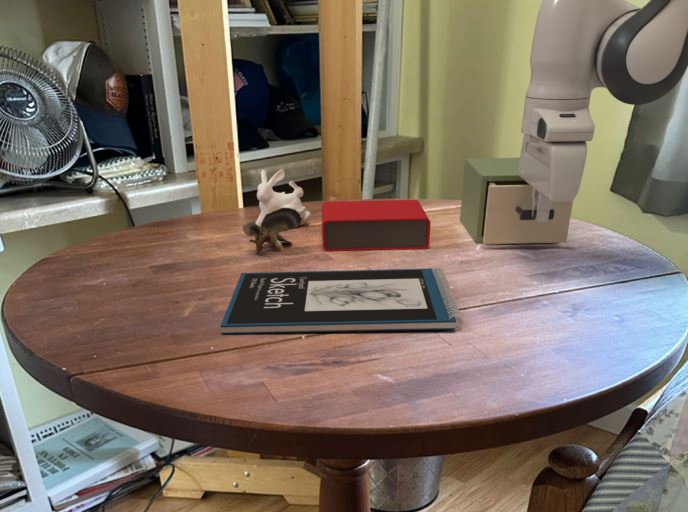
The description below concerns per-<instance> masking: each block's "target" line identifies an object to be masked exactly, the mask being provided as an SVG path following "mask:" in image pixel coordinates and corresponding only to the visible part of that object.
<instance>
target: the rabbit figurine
mask: <svg viewBox="0 0 688 512" xmlns="http://www.w3.org/2000/svg"><path fill="white" fill-rule="evenodd" d="M260 171H261V172H260V178H261V183H259V184H258V185H257V192H256V198H257V200H258V201H259V203H258V207H259V209H260V213H259V215H258V218H257V219H256V221H255V222H254V223H255V224H257V225H258V226H260V227H261V225H262V224H261V223H262V221H263V219H264V217H265V215H266V214H268V213H272V212H273V211H276V210H279V209H281V208H284V207H285V208H290V209H295V210H296V211H297V212H298V213H299V214H300V217H301V218H302V220H301V223H300V224H299V225H300V226H303V225H304V224H306V223H308V222H309V221H310V220H311V216H312V213H311V212H310V211H309V210H307V208H306V206H305V205H303V204H302V200H301V198H302V197H303V196H304V190H303V188H302V187H301V186H298V185H297V184H296V183H295V182H294V181H293V180H290V181H289V182H288V185H289V186H290V187H292V188H293V191H292V192H291V193H286V191H282V192H277V191H274V190H273V186H275V185H276V184H277V183H279V182H280V181H282V180H283V179H284V178H285V175H286V174H285V170H284V169H283V168H281V169H279V170H278V171H277V172H275V173H274V174H273V175H272V176H271V178H270V179H269V180H268V177H267V174H268V172H267V170H266V169H262V170H260Z"/></svg>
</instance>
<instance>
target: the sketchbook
mask: <svg viewBox="0 0 688 512" xmlns="http://www.w3.org/2000/svg"><path fill="white" fill-rule="evenodd" d="M463 324H464V319H463V317H462V314H461V312H460V309H459V307H458V305H457V302H456V299H455V297H454V294H453V292H452V290H451V287H450V285H449V281H448V280H447V277H446V274H445V273H444V270H443V269H442V268H441V267H439V266H435V267H433V268H431V267H430V268H396V269H395V268H394V269H393V268H391V269H389V268H388V269H357V270H356V269H352V270H351V269H349V270H347V269H346V270H313V271H312V270H309V271H308V270H306V271H274V272H273V271H268V272H267V271H266V272H241V273H240V276H239V279H238V281H237V283H236V286H235V288H234V290H233V293H232V296H231V298H230V301H229V304H228V306H227V308H226V311H225V313H224V316H223V318H222V320H221V323H220V333H221V335H243V334H244V335H245V334H289V333H290V334H292V333H293V334H295V333H336V332H337V333H339V332H383V331H385V332H387V331H433V330H435V331H437V330H441V331H443V330H454V331H455V330H459V329H460V328H461V327H463Z"/></svg>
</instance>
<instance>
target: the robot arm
mask: <svg viewBox="0 0 688 512" xmlns="http://www.w3.org/2000/svg"><path fill="white" fill-rule="evenodd" d="M532 36H533V37H532V43H531V49H530V57H529V65H530V79H529V84H528V87H527V89H526V92H525V98H524V105H523V114H522V122H521V130H520V131H521V133H522V135H523V138H522V144H521V149H520V155H519V158H520V161H519V176H520V177H521V178H522V179H523V180H525V181H526V182H527V183H528V184H530V185H531V186H532V187H533V191H532V198H533V212H532V217H533V218H534V219H535V220H536V221H537V222H547V221H548V219H549V212H550V209H551V207H552V205H553V202H567V201H573V202H574V200H575V199H576V197H577V195H578V194H579V190H580V188H581V183H582V179H583V175H584V171H585V166H586V160H587V156H588V144H587V142H592V140H593V139H594V135H595V127H596V125H595V122H594V120H593V119H592V117H591V114H590V103H591V96H592V92H593V90H595V89H597V88H604V89H606V90H607V91H608V92H609V94H610V95H611V96H612V97H613V98H615V99H616V100H617V101H619V102H621V103H624V104H626V105H630V106H631V105H632V106H642V105H647V104H650V103H653V102H655V101H658V100H659V99H661V98H663V97H664V96H666V95H667V94H669V92H671V91H673V89H674V88H675V87H676V86H677V85H678V84H679V82H680V81H681V80H682V79H683V76H684V75H685V73H686V72H687V69H688V0H649V1H648V2H647V3H646V4H645V5H643V6H642V7H639V6H638V5H634V4H633V3H631V2H628V1H627V0H542V1H541V3H540V6H539V9H538V12H537V16H536V20H535V26H534V30H533V35H532Z"/></svg>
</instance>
